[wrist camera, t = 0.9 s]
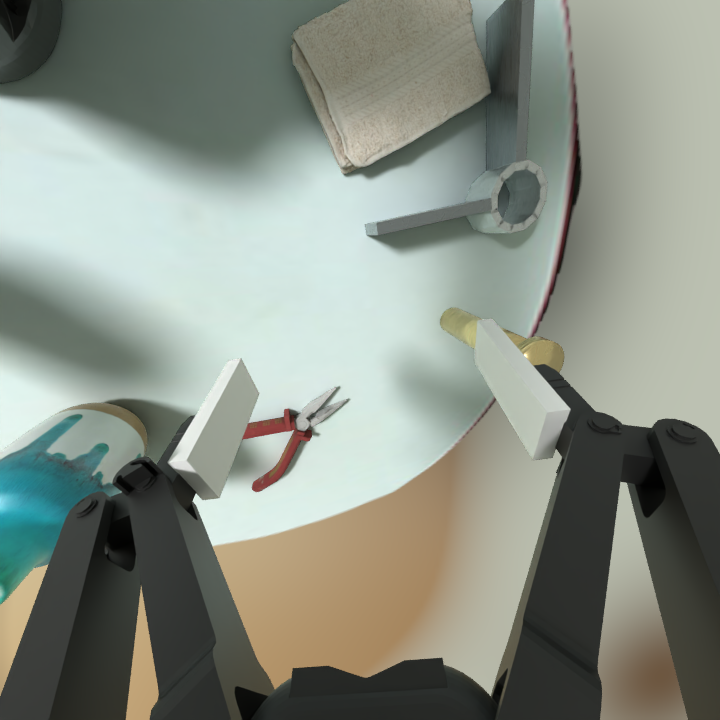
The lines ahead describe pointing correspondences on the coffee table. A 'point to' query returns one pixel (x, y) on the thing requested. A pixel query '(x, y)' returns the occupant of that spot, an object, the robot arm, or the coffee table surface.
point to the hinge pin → (532, 348)
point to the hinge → (498, 137)
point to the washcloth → (388, 73)
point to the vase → (58, 479)
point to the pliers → (300, 433)
